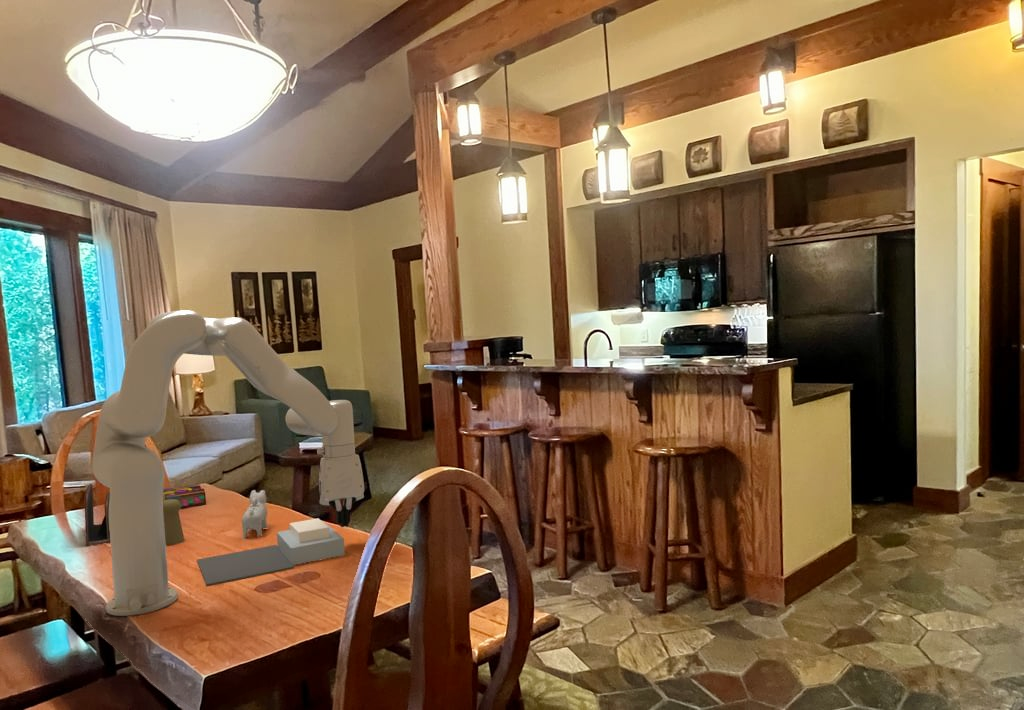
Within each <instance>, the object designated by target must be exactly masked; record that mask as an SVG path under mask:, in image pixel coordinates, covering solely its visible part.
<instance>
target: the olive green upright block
mask: <svg viewBox="0 0 1024 710" xmlns="http://www.w3.org/2000/svg"><path fill="white" fill-rule="evenodd" d="M180 510H181V509H180V502H179V501H178V500H176V499H169V500H165V501H163V516H164V528H165V542H166V547H167V546H174V545H178V544H181V543H184V542H185V536H184V531H183V527H182V522H181V517H180V513H179V511H180Z"/></svg>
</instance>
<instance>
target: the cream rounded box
mask: <svg viewBox="0 0 1024 710" xmlns="http://www.w3.org/2000/svg"><path fill="white" fill-rule="evenodd" d="M325 523H326V522H324V521H323V520H321V519H320V518H319V517H318V518H312V519H305V520H300V521H295V522H290V523H289V530H290V534H291V535H292V536H293V537H294V538H295V539H296V540H297V541H298V542H299V543H302V542H307V541H312V540H318V539H323V538H328V537H330V535H329V527H328V526H329V525H328V524H327V523H326V524H327V525H328V526H327V525H326V524H325Z"/></svg>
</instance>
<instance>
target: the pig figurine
mask: <svg viewBox="0 0 1024 710" xmlns="http://www.w3.org/2000/svg"><path fill="white" fill-rule="evenodd" d="M266 494H267V493H266V491H265V489H264V490H263V489H261V490H259V492H257V491H256V489H253V490H251V492H250V495H249V504H250V505H249V506H248V508H247V509H246V511H245V512H244V514H243V515H242V518H241V526H242V539H247V538H246V537H248V536H247V535H248V532H252V531H251V530H254V531H255V530H256V537H257V536H261V535H262V536H263V533H262V529H263V528H268V529H269V527H268V523H267V518H268V509H267V506H266V503H267V495H266Z"/></svg>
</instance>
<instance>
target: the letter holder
mask: <svg viewBox="0 0 1024 710" xmlns="http://www.w3.org/2000/svg"><path fill="white" fill-rule="evenodd" d="M93 487H94V486H93V483H90V484H89V483H88V486H87V488H86V491H85V494H84V522H85V523H84V524H85V527H84V528H85V546H86V547H91V546H90V545H93V546H98V545H97V544H100V545H104V544H103V543H106V544H111V543H110V530H109V499H110V491H108V492H106V496H105V501H104V516H103V519H102V522H101V524H95V522H94V521H95V520H94V518H95V517H94V490H93V489H94V488H93Z"/></svg>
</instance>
